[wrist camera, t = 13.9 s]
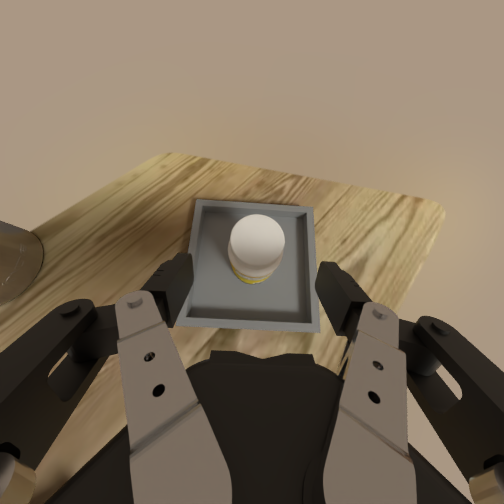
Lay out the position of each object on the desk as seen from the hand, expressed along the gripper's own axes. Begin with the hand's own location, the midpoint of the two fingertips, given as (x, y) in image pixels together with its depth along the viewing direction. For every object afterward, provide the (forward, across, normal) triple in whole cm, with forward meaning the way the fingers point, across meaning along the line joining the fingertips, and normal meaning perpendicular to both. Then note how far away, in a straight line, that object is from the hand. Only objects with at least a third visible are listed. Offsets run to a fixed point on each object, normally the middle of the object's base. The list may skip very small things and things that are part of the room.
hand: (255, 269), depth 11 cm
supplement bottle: (+8, 0, +5) cm, 10 cm away
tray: (+9, 0, +5) cm, 10 cm away
